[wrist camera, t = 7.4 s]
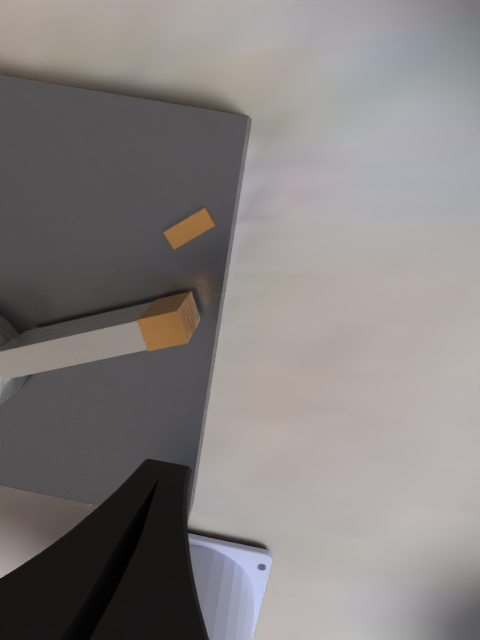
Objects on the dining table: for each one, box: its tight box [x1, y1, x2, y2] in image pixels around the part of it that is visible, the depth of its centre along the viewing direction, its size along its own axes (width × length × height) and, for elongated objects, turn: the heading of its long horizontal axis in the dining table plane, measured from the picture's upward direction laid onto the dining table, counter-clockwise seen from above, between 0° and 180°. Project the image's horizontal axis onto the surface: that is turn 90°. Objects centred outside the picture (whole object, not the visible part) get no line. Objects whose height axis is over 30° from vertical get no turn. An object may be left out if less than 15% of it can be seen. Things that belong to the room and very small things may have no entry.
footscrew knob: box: [0, 291, 200, 405], centre depth 19 cm, size 14×5×3 cm, turn 105°
